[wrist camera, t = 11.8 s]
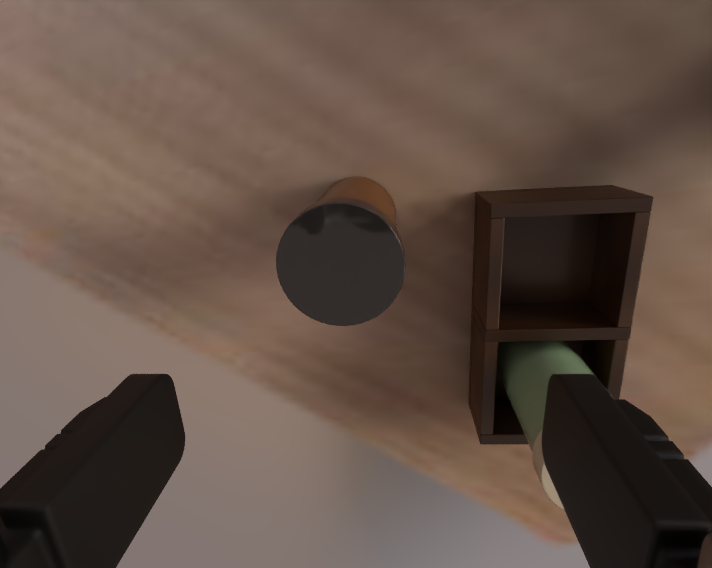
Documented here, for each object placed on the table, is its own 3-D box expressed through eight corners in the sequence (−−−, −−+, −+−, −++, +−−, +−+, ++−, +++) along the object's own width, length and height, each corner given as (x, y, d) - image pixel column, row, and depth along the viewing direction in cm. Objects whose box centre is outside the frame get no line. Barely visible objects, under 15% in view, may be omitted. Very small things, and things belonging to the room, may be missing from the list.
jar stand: (475, 191, 28) (490, 203, 24) (612, 184, 28) (653, 196, 23) (468, 403, 34) (480, 444, 30) (582, 402, 33) (612, 444, 29)
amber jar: (311, 175, 29) (268, 205, 18) (397, 170, 28) (403, 199, 18) (318, 258, 31) (283, 328, 20) (400, 255, 30) (406, 324, 20)
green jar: (493, 322, 31) (546, 424, 20) (577, 320, 30) (674, 423, 20) (489, 392, 33) (536, 516, 22) (568, 391, 32) (653, 518, 22)
